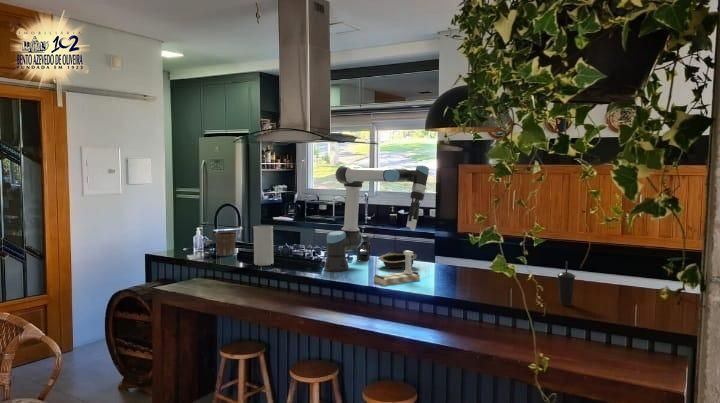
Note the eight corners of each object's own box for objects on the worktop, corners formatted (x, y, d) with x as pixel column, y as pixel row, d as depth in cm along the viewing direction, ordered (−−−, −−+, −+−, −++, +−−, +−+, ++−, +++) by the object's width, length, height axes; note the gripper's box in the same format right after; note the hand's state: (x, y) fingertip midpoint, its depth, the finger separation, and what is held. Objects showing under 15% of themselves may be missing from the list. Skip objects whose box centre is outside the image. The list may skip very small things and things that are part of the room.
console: (408, 276, 293) (408, 269, 292) (419, 280, 284) (419, 272, 284) (373, 281, 280) (373, 274, 280) (383, 285, 272) (383, 277, 271)
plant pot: (238, 256, 367) (237, 234, 366) (215, 257, 362) (214, 235, 361) (236, 252, 383) (236, 231, 382) (214, 254, 378) (213, 232, 377)
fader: (407, 272, 289) (407, 250, 288) (413, 273, 285) (413, 251, 284) (403, 273, 287) (403, 250, 287) (408, 274, 283) (408, 252, 282)
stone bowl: (417, 263, 333) (417, 249, 332) (416, 274, 309) (416, 259, 307) (380, 262, 336) (380, 248, 335) (376, 272, 312) (376, 258, 311)
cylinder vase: (251, 265, 330) (250, 227, 328) (257, 262, 342) (257, 225, 341) (270, 266, 328) (269, 227, 327) (275, 262, 341) (275, 225, 339)
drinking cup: (553, 302, 234) (554, 259, 233) (569, 302, 235) (570, 259, 233) (561, 307, 226) (562, 262, 225) (578, 306, 227) (579, 262, 226)
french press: (363, 261, 342) (363, 227, 340) (352, 260, 348) (352, 226, 346) (374, 259, 351) (374, 226, 349) (364, 258, 357) (363, 225, 355)
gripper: (421, 189, 277) (413, 227, 274) (427, 197, 300) (420, 232, 298) (408, 186, 279) (400, 224, 276) (414, 195, 302) (407, 230, 300)
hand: (410, 228), depth 287 cm, fingers open, 13 cm apart
